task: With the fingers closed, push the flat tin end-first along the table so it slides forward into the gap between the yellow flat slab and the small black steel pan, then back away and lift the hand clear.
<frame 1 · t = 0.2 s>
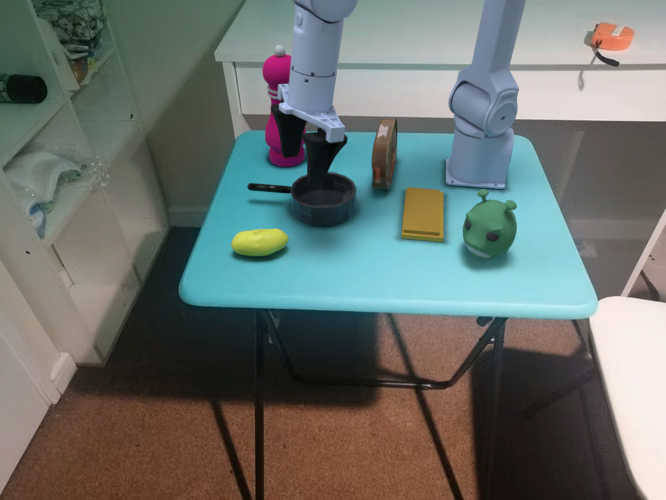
hand: (302, 168, 74), 11 cm above the table, tool pointing down, fingers open, 7 cm apart
alien toy: (482, 255, 76), on the table
pan: (323, 207, 85), on the table
yellow flat slab: (423, 216, 83), on the table
tin: (383, 175, 92), on the table
pepper mill: (287, 159, 96), on the table
lemon: (261, 253, 76), on the table
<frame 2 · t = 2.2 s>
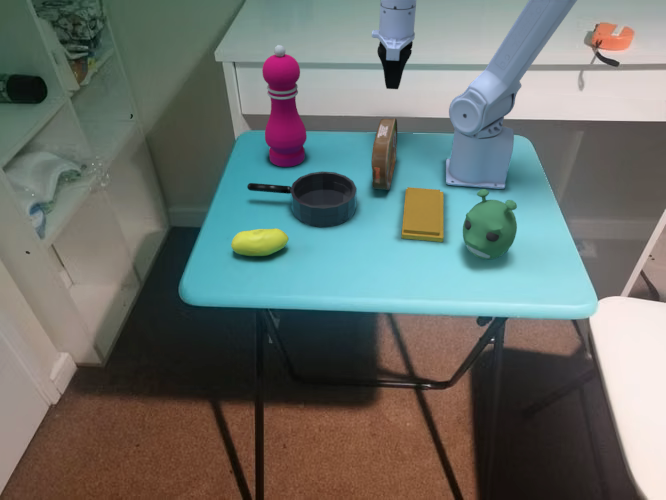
hand: (392, 86, 95), 10 cm above the table, tool pointing down, fingers closed
nothing on the table moved.
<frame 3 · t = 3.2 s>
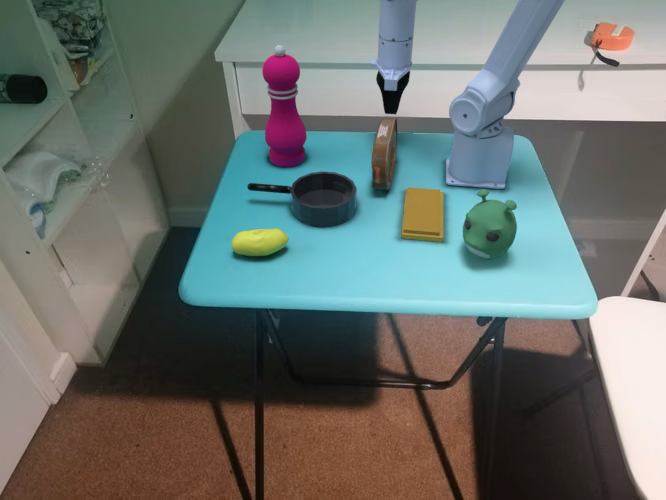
hand: (390, 112, 97), 6 cm above the table, tool pointing down, fingers closed
nothing on the table moved.
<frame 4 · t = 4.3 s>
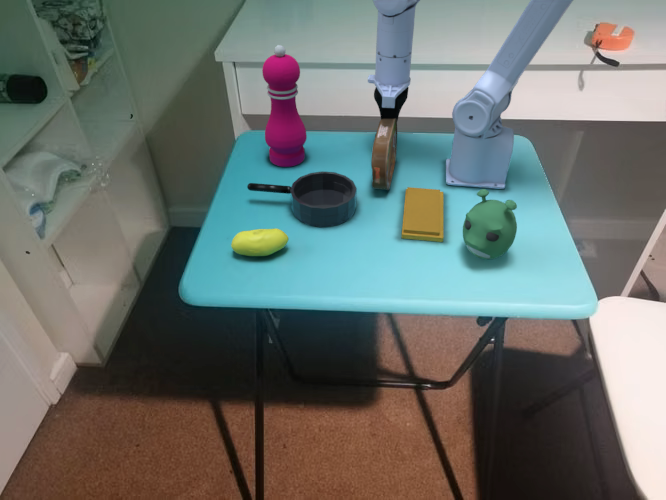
hand: (388, 128, 95), 4 cm above the table, tool pointing down, fingers closed
tin: (383, 175, 92), on the table, touching gripper
everything else where it was.
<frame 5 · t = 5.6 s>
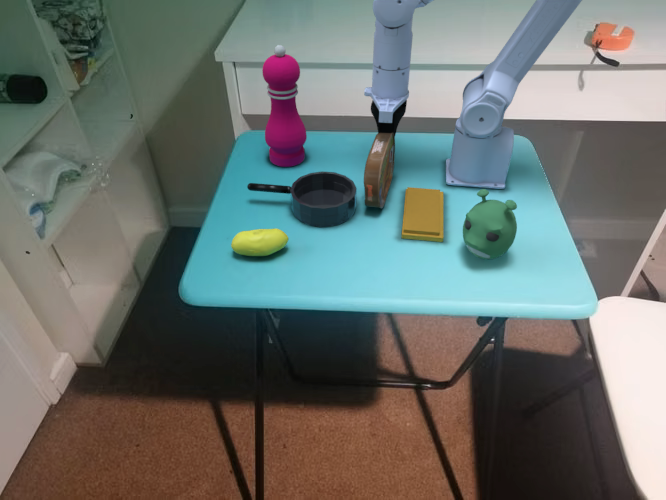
hand: (386, 142, 91), 4 cm above the table, tool pointing down, fingers closed
tin: (378, 191, 88), on the table, touching gripper
everything else where it was.
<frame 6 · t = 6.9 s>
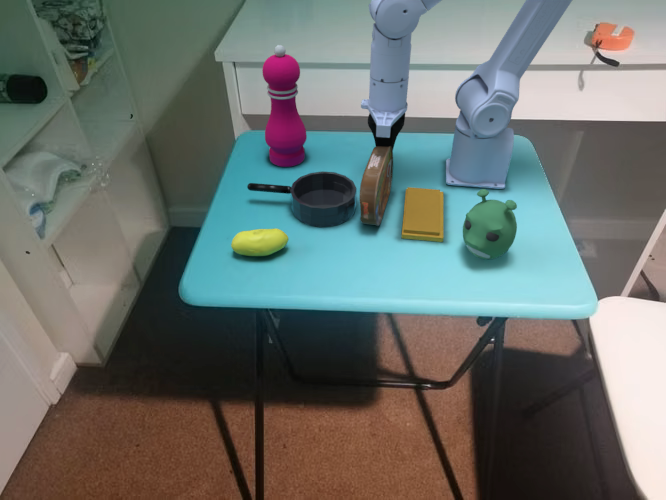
hand: (384, 156, 88), 4 cm above the table, tool pointing down, fingers closed
tin: (375, 207, 85), on the table, touching gripper
everything else where it was.
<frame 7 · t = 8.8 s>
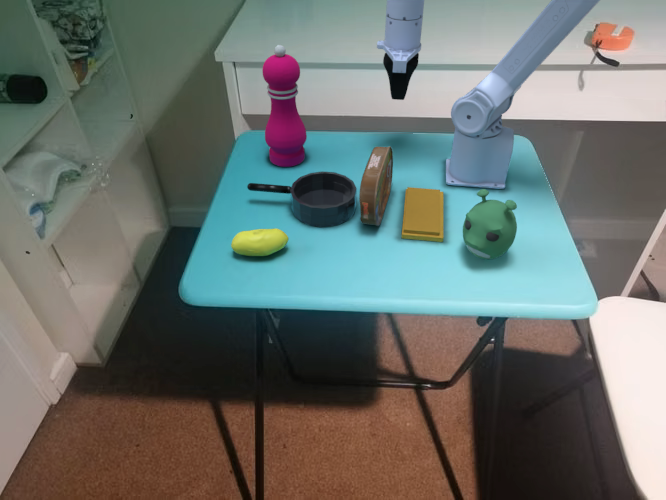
hand: (398, 97, 92), 10 cm above the table, tool pointing down, fingers closed
tin: (375, 207, 85), on the table
everything else where it was.
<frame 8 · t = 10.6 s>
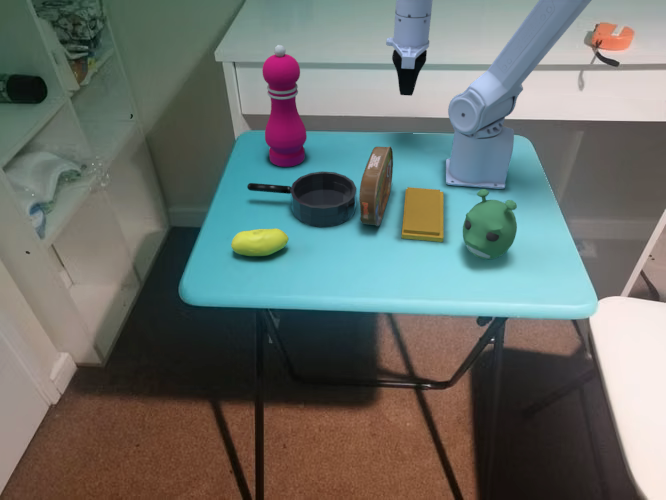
hand: (406, 93, 95), 9 cm above the table, tool pointing down, fingers closed
nothing on the table moved.
at the end: tin 0.8 cm from the target spot, on the table; tin tilted 0°; tin moved 9.6 cm from its start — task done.
